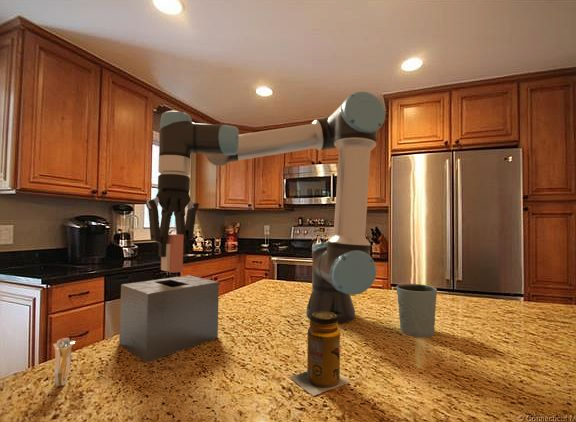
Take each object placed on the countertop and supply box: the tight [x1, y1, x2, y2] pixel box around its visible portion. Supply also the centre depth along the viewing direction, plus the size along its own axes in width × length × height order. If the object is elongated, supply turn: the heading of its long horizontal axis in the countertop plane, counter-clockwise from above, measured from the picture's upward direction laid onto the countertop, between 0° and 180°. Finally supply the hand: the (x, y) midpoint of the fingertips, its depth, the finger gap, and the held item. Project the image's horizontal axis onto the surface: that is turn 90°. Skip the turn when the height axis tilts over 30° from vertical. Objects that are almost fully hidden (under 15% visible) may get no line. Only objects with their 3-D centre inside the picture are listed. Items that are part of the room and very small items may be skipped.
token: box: [160, 233, 184, 274], centre depth 75 cm, size 6×2×9 cm, turn 49°
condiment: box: [289, 311, 350, 397], centre depth 56 cm, size 7×8×12 cm
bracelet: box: [53, 337, 76, 387], centre depth 54 cm, size 7×3×8 cm, turn 22°
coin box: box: [118, 274, 220, 363], centre depth 74 cm, size 14×18×14 cm
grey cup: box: [396, 283, 438, 338], centre depth 83 cm, size 10×10×12 cm
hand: (171, 269), depth 75 cm, fingers closed on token, 2 cm apart
